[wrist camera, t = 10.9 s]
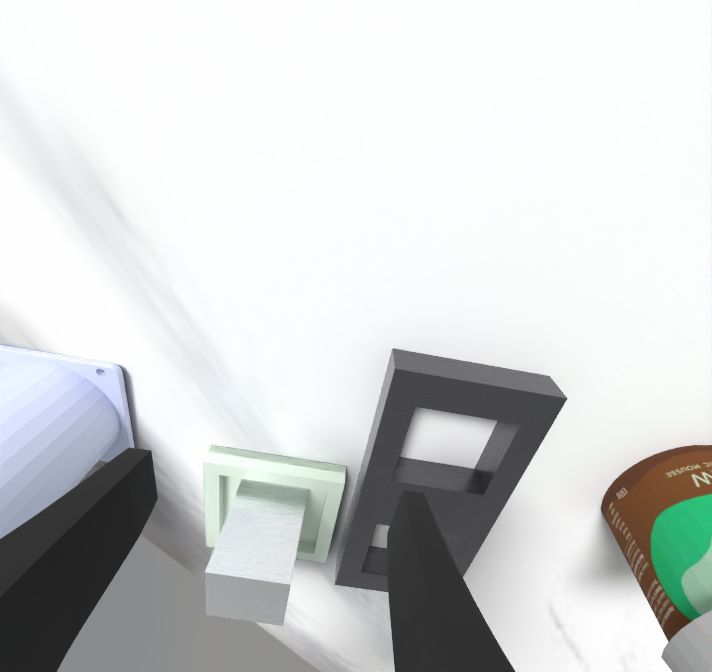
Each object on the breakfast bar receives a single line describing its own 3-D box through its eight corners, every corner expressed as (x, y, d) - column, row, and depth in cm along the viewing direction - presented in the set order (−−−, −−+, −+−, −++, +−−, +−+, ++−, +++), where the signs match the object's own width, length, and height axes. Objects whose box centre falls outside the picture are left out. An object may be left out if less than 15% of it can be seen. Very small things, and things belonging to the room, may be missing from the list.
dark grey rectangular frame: (337, 557, 28) (334, 584, 27) (392, 348, 19) (394, 368, 17) (444, 573, 29) (449, 600, 27) (549, 376, 19) (567, 398, 18)
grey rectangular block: (240, 518, 25) (205, 615, 20) (242, 477, 23) (204, 572, 18) (300, 528, 26) (282, 625, 20) (308, 487, 24) (290, 584, 18)
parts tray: (213, 528, 27) (206, 546, 26) (212, 444, 23) (202, 461, 22) (327, 545, 28) (325, 563, 26) (346, 466, 23) (344, 483, 22)
